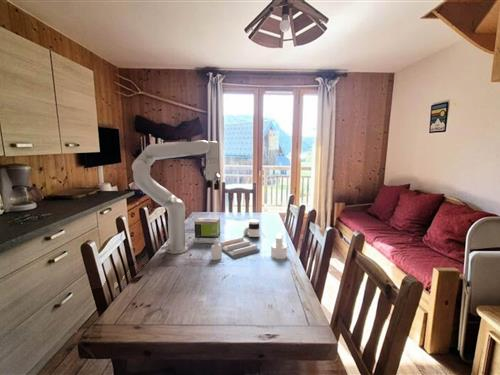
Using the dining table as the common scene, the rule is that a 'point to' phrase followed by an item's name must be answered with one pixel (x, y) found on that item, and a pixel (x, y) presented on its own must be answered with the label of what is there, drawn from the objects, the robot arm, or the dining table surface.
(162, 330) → the dining table surface
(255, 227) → the spread jar
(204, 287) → the dining table surface
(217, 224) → the tea box
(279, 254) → the base with upright slab
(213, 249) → the eye dropper bottle
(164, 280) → the dining table surface
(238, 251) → the grey board with rails
